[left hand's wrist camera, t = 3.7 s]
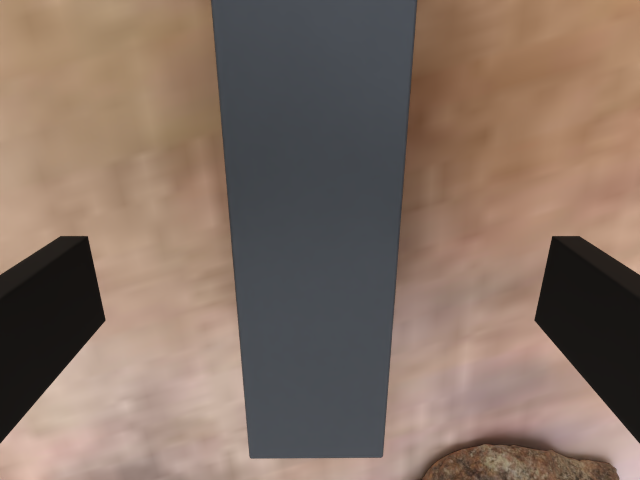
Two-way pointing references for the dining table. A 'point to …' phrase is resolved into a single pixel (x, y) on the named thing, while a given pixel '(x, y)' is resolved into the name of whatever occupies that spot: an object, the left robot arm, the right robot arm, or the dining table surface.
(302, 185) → the bar
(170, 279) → the dining table surface
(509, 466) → the rock
